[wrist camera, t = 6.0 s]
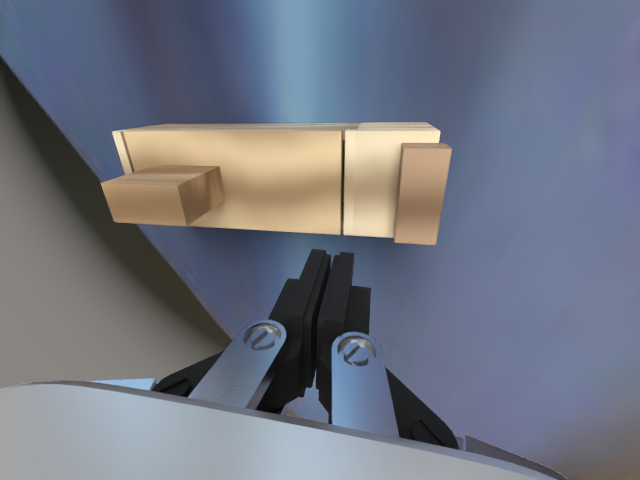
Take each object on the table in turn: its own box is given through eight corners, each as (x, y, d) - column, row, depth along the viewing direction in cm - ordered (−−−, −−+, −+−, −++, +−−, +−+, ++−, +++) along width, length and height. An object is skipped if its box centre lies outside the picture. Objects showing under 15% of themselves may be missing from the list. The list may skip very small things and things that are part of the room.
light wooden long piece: (164, 123, 32) (111, 131, 26) (426, 122, 28) (440, 131, 21) (182, 200, 36) (140, 223, 30) (415, 209, 31) (424, 239, 25)
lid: (133, 129, 27) (56, 141, 20) (342, 129, 23) (329, 143, 17) (158, 219, 30) (99, 252, 24) (341, 229, 27) (330, 270, 21)
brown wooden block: (401, 142, 22) (404, 148, 20) (444, 142, 21) (451, 148, 19) (393, 229, 25) (394, 242, 23) (430, 231, 25) (435, 245, 22)
